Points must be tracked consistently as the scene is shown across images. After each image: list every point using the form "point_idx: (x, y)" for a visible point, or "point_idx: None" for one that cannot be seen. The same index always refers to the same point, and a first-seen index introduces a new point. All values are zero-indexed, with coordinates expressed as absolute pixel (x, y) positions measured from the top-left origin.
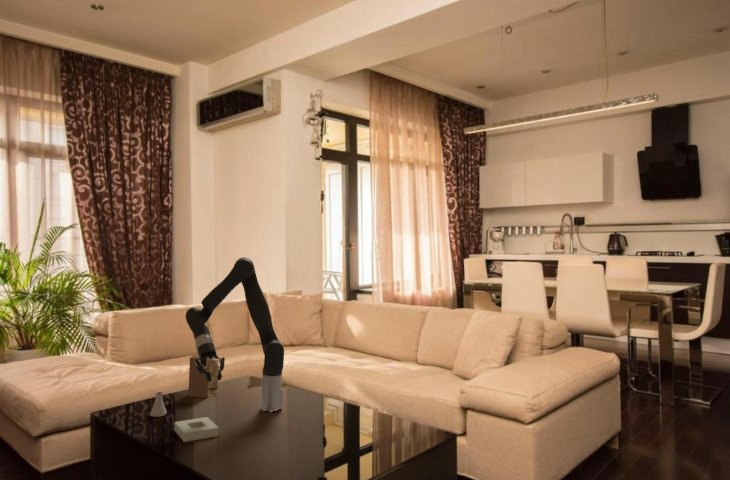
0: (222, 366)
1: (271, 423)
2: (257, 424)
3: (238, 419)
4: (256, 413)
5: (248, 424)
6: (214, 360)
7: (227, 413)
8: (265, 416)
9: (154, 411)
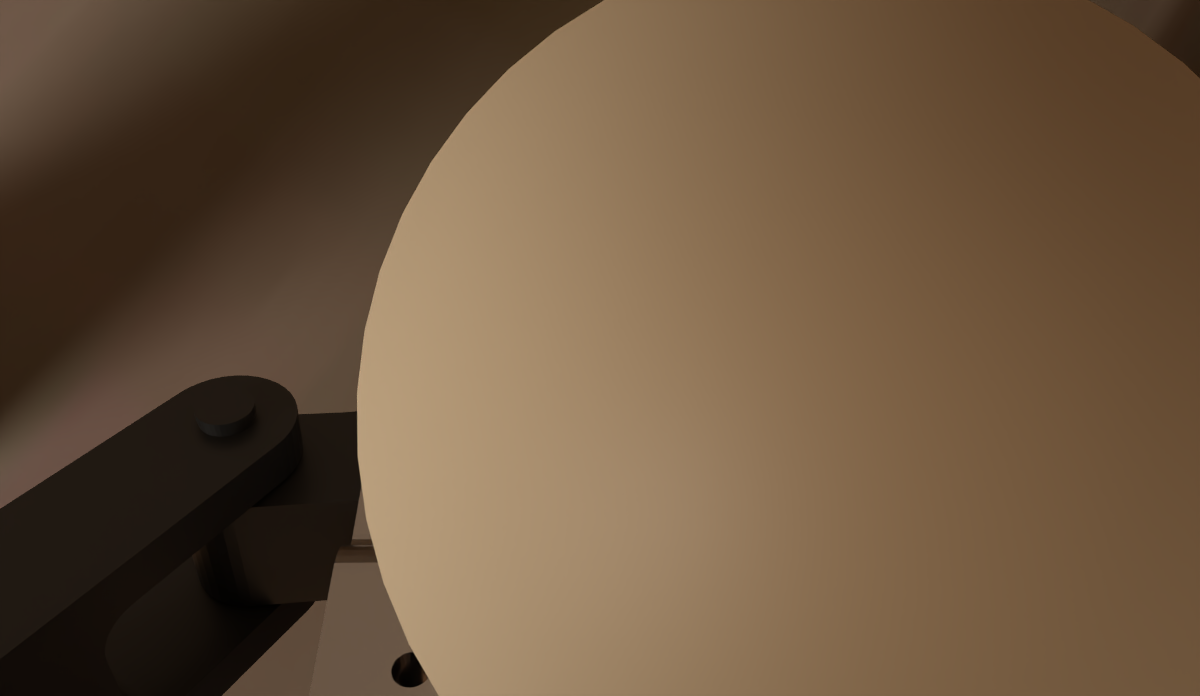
0: (195, 459)
1: (153, 57)
2: (279, 129)
3: (327, 395)
4: (44, 418)
5: (350, 192)
6: (998, 124)
7: (288, 661)
8: (44, 268)
9: None
